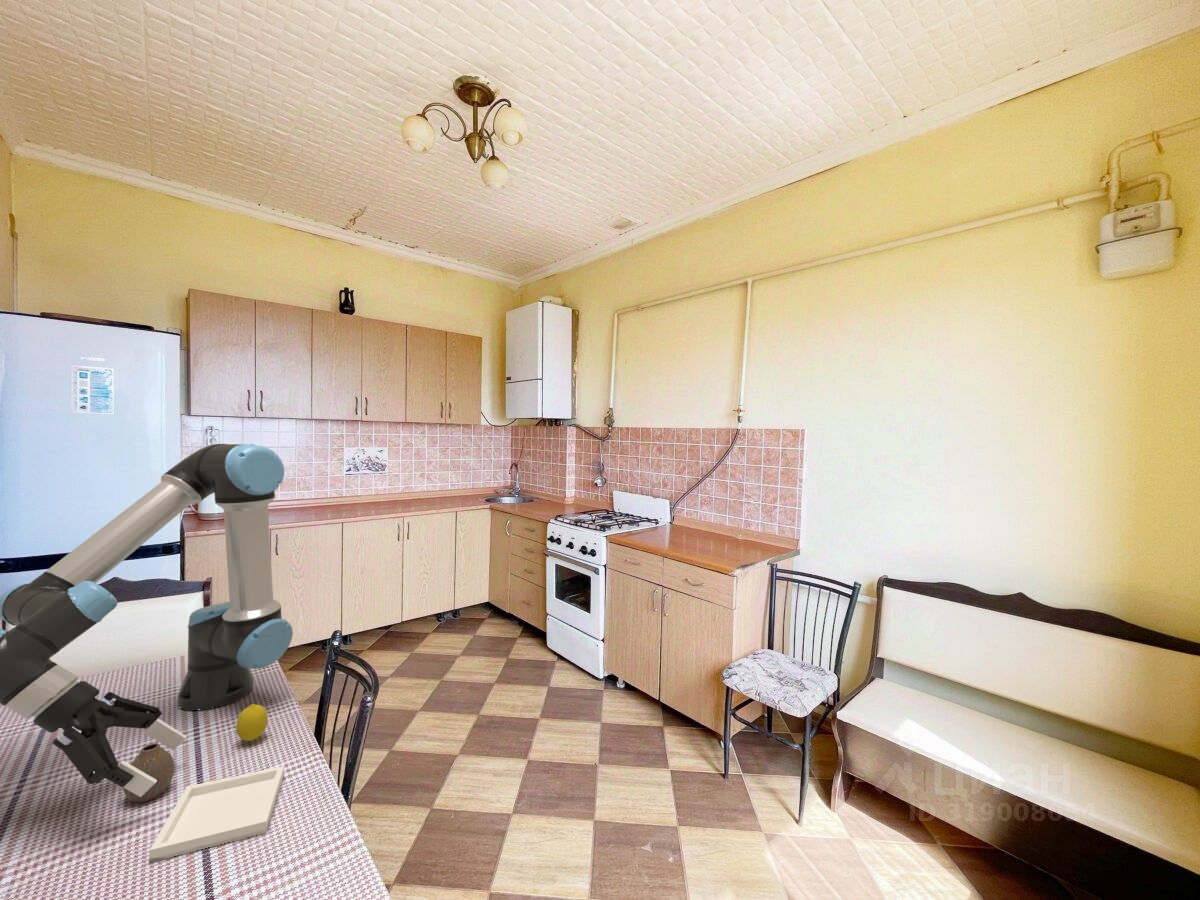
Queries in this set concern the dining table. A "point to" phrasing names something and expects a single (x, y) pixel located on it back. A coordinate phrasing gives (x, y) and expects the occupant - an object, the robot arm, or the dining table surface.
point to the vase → (153, 771)
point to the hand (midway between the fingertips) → (166, 764)
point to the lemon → (251, 722)
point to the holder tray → (219, 813)
